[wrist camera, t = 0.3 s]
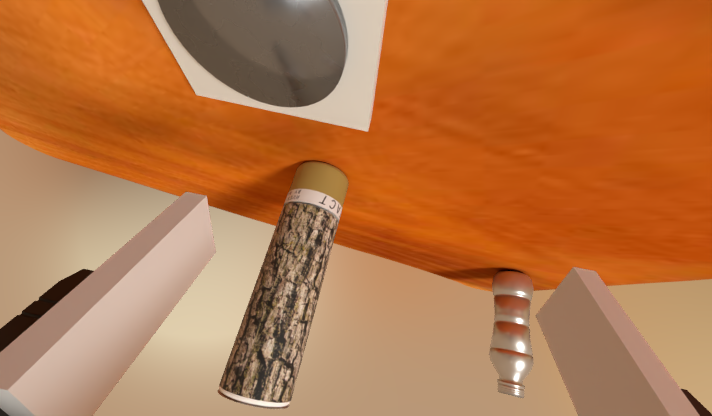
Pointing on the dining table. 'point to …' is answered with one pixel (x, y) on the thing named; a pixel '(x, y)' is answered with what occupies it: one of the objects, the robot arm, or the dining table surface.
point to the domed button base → (280, 53)
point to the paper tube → (286, 291)
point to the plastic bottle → (511, 331)
